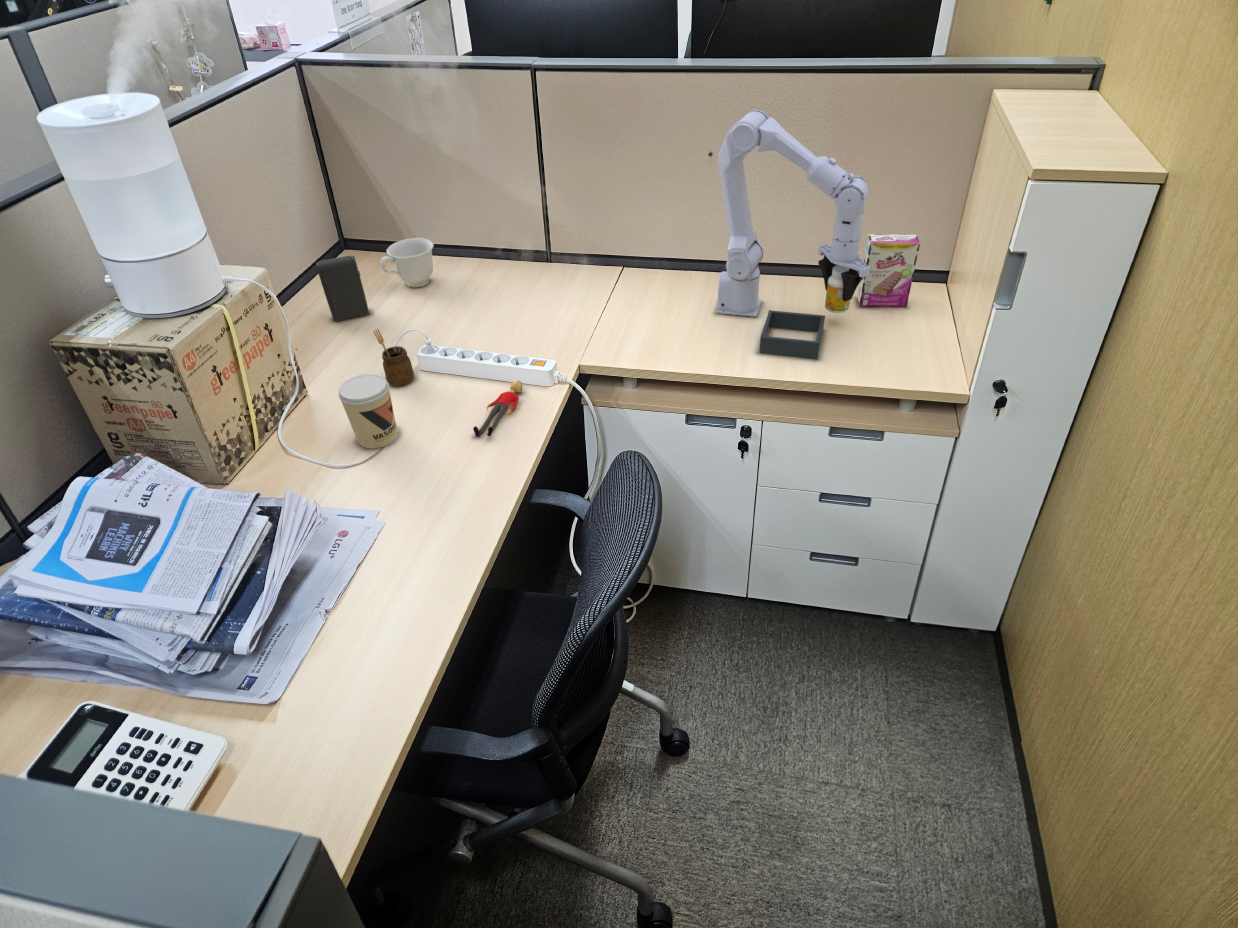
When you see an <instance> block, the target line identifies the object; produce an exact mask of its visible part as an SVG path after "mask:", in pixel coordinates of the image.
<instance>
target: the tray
mask: <svg viewBox="0 0 1238 928" xmlns="http://www.w3.org/2000/svg"><path fill="white" fill-rule="evenodd" d="M825 321H826V314H825V315H824V314H812V313H803V312H802V313H801V312H792V311H782V310H781V311H780V310H771V309H770V310H768V312H767V315H766V319H765V321H764V325H763V328H762V332H761V335H760V336H759V337H760V340H759V352H758V353H759V354H764V355H774V356H783V357H792V358H801V359H812V360H818V359H819V355H820V349H821V345H822V339H823V335H824V328H825ZM771 328H772V329H773V328H774V329H780V330H781V329H782V330H793V331H803V332H812V333H817V334H816V340H807V339H797V338H788V337H779V336H770V331H771Z"/></svg>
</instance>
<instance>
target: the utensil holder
mask: <svg viewBox="0 0 1238 928" xmlns="http://www.w3.org/2000/svg"><path fill="white" fill-rule="evenodd" d="M373 334H374V336H375V339H376V340H377V343H378V344H379V345H381V346H382V347H383V352H382V353H381V358H382V367H383V372H384V376H385V380H386V381H387V382H388V384H389V386H393V387H403V386H406V385H408V384H410V383H412V382H413V381H414V380H415V379H414V378H415V374H414V373H415V372H414V369H413V364H412V361H411V359H410V357H409V356H408V352H407V350H406V348H405V347H404V346H401V345H395V343H394V341H392V346H391V347H388V348H387V347H386V345H385V339H384V337H383V335H382V333H381V331H380V329H379V328H378V327H376V328H375V329H374V330H373ZM393 339H397V342H401V344H402V345H404V344H405V342H404V341H403V339H401V337H400V336H394V337H393ZM399 339H400V340H399Z"/></svg>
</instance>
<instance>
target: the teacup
mask: <svg viewBox="0 0 1238 928" xmlns="http://www.w3.org/2000/svg"><path fill="white" fill-rule="evenodd" d="M434 246H435V244H434V243H433V241H431V240H430V239H427V238H423V237H410V238H406V239H401V240H398V241H396V242H394V243H392V244H390V245H389V246H388V247H387V248H386V254H387V255H388V256H387V255H385V256H383V257H382V258H381V259H380V267H381V270H382V271H384V272H385V273H387V274H395V275H398V277H399V278H400V280H402V281H404V282H406V285H407V286H408V287H411V288H421V287H425V286H427V285H428V284H429V282H430V280H429V278H430V277H431V276H432V274H433V271H434V263H433V248H434ZM387 261H388V262H389V264H391V265H393V266H394V268H395V269H389V268H387V267H386V262H387Z"/></svg>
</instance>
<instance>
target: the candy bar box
mask: <svg viewBox="0 0 1238 928" xmlns="http://www.w3.org/2000/svg"><path fill="white" fill-rule="evenodd" d="M865 242H866V243H865V247H864V253H863V260H862V261H863V262H864V263H865V264H866V265H867V266H869V267H870V272H869V276H866V277H864V278H863V279H862V280H861V282H860V283H859V285H858V289H857V297H856V299H857V302H858V306H859V307H860V308H877V307H878V308H907V306H908V302H909V298H910V292H911V288H912V283H913V279H914V273H915V270H916V265H917V260H918V255H919V251H920V246H921V241H920V239H919V238H918V235H917V234H908V233H907V234H906V233H905V234H903V233H902V234H901V233H900V234H897V233H896V234H891V233H890V234H889V233H888V234H887V233H886V234H885V233H883V234H881V233H878V234H877V233H874V234H873V233H869V234H867V237H866V241H865Z"/></svg>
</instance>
